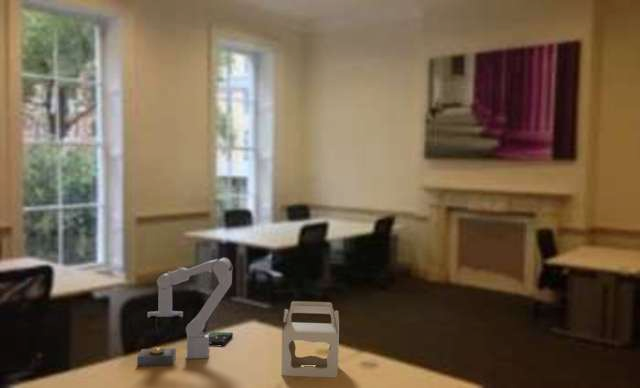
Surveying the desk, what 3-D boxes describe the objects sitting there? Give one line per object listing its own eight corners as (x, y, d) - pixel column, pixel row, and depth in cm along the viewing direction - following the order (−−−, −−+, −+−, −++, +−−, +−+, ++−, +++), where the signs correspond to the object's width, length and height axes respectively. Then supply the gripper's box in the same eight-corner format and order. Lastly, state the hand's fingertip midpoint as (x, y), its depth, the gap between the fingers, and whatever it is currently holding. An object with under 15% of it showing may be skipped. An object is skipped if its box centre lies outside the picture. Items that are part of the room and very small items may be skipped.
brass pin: (164, 359, 248) (164, 346, 247) (163, 363, 242) (163, 350, 242) (151, 359, 247) (151, 347, 247) (148, 363, 241) (149, 351, 241)
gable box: (280, 375, 231) (281, 304, 230) (284, 364, 244) (285, 297, 243) (337, 378, 229) (338, 306, 228) (338, 366, 243) (340, 299, 241)
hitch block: (175, 357, 250) (175, 348, 250) (172, 365, 240) (172, 355, 240) (141, 358, 249) (141, 349, 248) (137, 366, 239) (137, 356, 239)
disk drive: (224, 347, 268) (233, 338, 283) (224, 341, 268) (233, 332, 283) (202, 346, 269) (211, 337, 284) (202, 340, 269) (211, 331, 284)
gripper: (146, 304, 248) (146, 336, 248) (181, 303, 250) (181, 335, 250) (149, 300, 255) (148, 331, 255) (183, 300, 257) (183, 331, 257)
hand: (165, 333), depth 253 cm, fingers open, 7 cm apart
